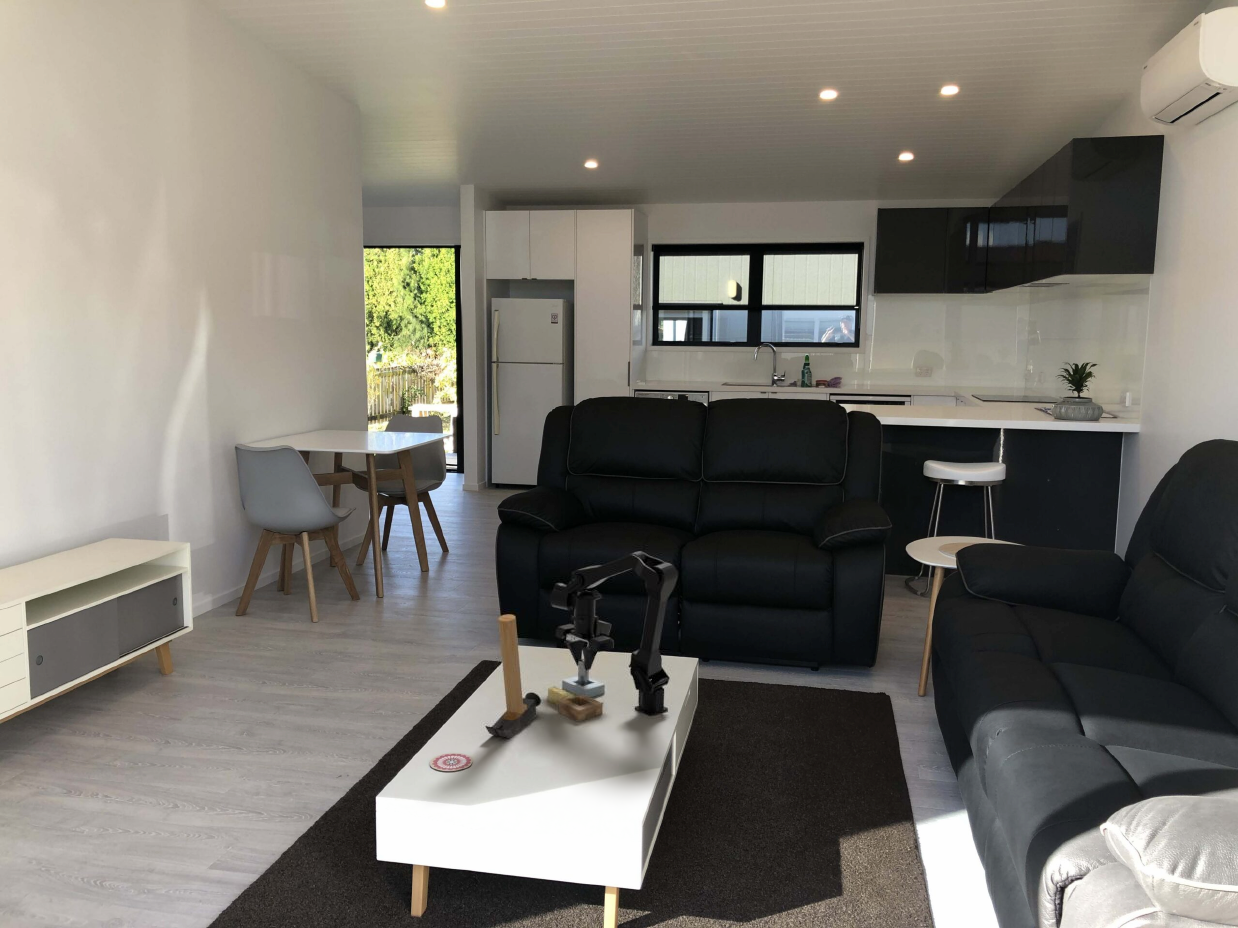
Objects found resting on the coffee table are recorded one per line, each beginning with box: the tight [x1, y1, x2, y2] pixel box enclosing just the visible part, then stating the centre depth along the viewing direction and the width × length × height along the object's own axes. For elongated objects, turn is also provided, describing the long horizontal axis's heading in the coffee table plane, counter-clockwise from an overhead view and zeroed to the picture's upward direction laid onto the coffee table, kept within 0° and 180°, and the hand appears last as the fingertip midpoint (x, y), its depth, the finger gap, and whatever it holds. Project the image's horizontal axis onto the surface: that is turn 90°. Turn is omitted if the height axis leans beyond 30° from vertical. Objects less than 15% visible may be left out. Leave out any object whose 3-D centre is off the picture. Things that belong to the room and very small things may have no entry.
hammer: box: [485, 613, 542, 739], centre depth 226 cm, size 20×5×30 cm, turn 158°
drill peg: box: [577, 658, 590, 686], centre depth 255 cm, size 3×3×9 cm
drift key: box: [547, 686, 578, 706], centre depth 245 cm, size 10×2×4 cm, turn 42°
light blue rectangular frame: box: [561, 675, 606, 698], centre depth 256 cm, size 10×7×2 cm
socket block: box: [558, 694, 603, 723], centre depth 239 cm, size 8×8×3 cm
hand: (583, 667), depth 255 cm, fingers open, 4 cm apart
